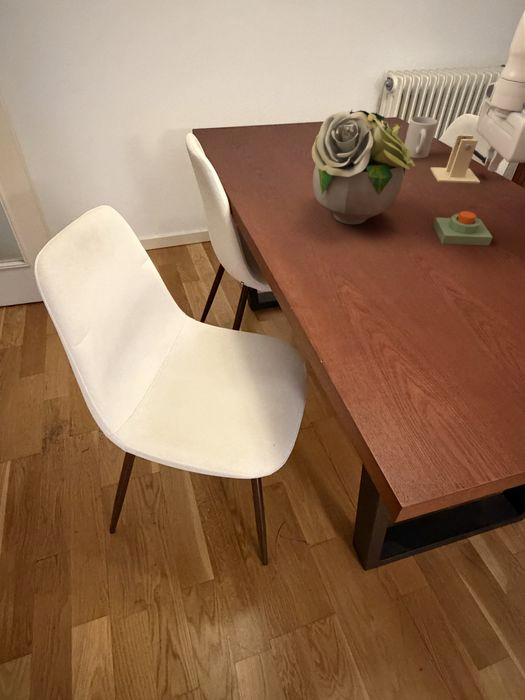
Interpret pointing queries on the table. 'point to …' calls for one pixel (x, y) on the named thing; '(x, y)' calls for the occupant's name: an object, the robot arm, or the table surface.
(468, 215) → the button
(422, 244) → the table surface
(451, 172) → the beige bracket stand
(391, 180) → the flower arrangement
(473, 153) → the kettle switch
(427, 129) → the mug
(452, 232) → the control block
